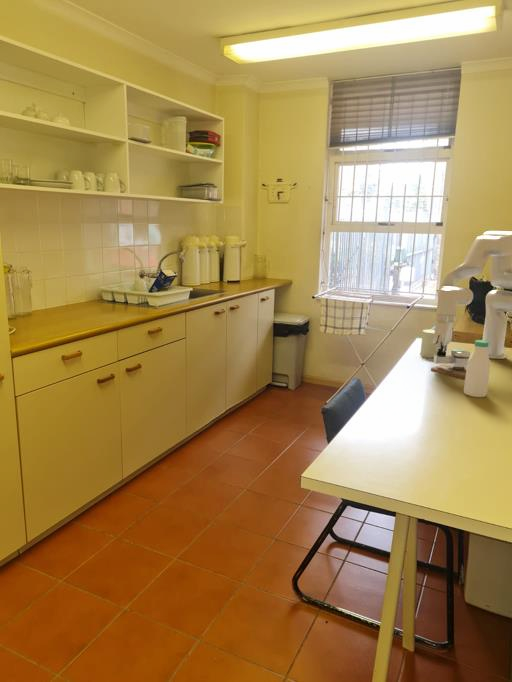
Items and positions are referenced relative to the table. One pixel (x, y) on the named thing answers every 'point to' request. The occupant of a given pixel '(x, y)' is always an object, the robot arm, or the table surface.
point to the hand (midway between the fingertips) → (440, 360)
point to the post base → (451, 370)
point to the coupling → (454, 358)
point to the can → (428, 344)
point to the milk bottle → (477, 371)
